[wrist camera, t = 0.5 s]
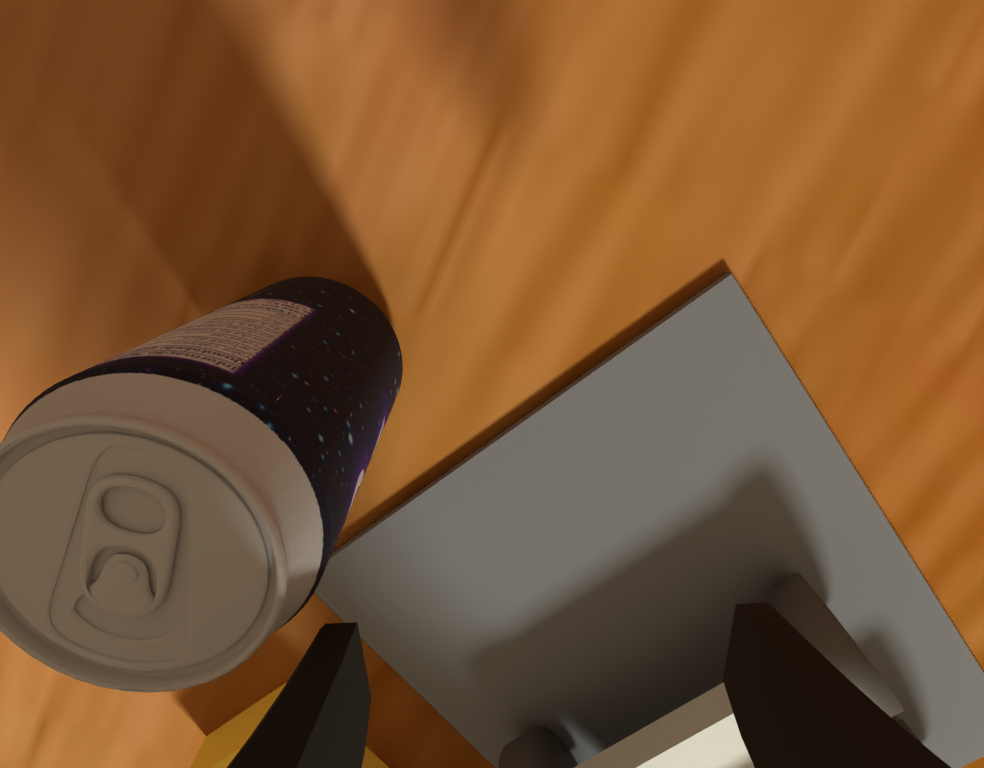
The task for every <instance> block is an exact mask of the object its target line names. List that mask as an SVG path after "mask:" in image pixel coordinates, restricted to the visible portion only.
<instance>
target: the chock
mask: <svg viewBox="0 0 984 768" xmlns="http://www.w3.org/2000/svg"><path fill="white" fill-rule="evenodd" d="M286 683H287V682H286ZM286 683H285V684H283V685H282V686H280V687H279V688H277V689H276V690H274V691H273V692H271V693H270V694H268V695H267V696H265V697H264V698H262V699H261V700H259V701H258V702H256V703H255V704H253V705H252V706H250V707H249V708H247V709H246V710H244V711H243V712H241V713H240V714H238V715H237V716H235V717H234V718H232V719H231V720H230V721H228V722H227V723H225V724H224V725H222V726H221V727H219V728H218V729H216V730H215V731H213V732H212V733H210V734H209V735H207V736H206V737H205V739H204V741H203V743H202V745H201V747H200V749H199V751H198V753H197V755H196V757H195V759H194V761H193V763H192V765H191V767H190V768H227V766H228V765H229V764H230V762H231V761H232V760H233V758H234V757H235V756H236V755H237V753H238V752H239V751H240V749H241V748H242V747H243V745H244V744H245V743H246V741H247V740H248V739H249V737H250V736H251V734H252V733H253V732H254V730H255V729H256V727H257V726H258V724H259V723H260V722H261V720H262V719H263V717H264V716H265V714H266V713H267V711H268V710H269V708H270V707H271V706H272V704H273V703H274V701H275V700H276V698H277V697H278V695H279V694H280V693H281V691H282V689H283V688H284V686H285V685H286ZM362 768H389V767H388V766H387V765H386V764H385V763H384V762H383V761H382V760H380V759H379V758H378V757H377V756H376V755H375V754H374V753H373V752H372V751H370V750H369V749H368V748H367V747H366V746H365V753H364V758H363V763H362Z"/></svg>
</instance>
